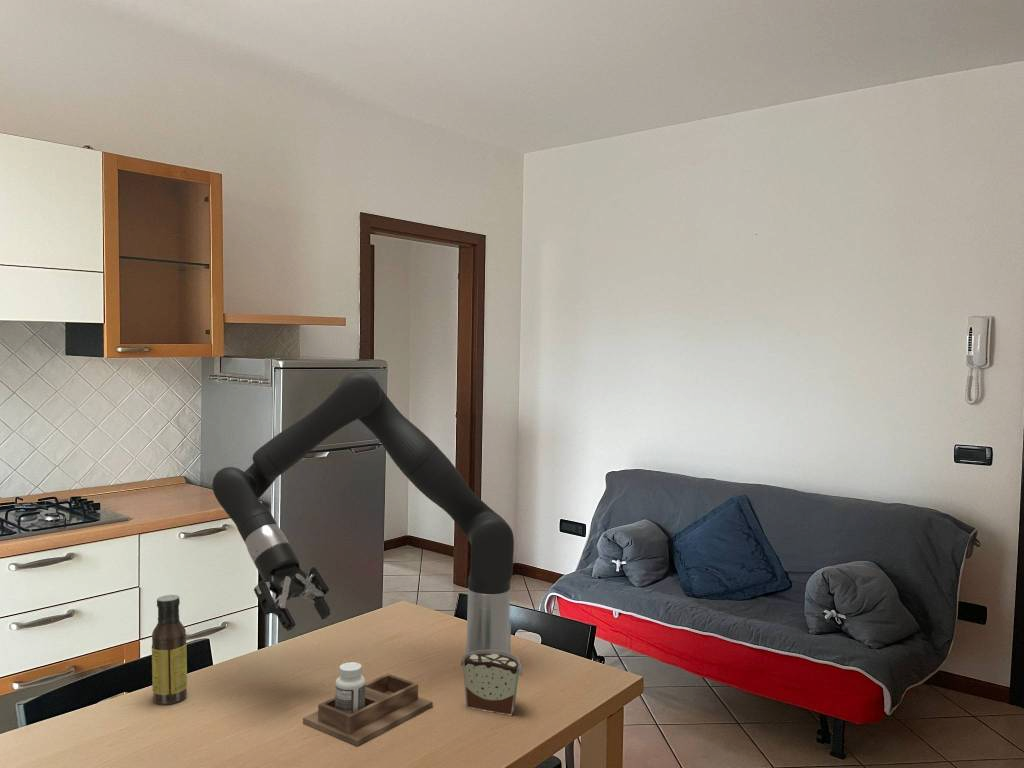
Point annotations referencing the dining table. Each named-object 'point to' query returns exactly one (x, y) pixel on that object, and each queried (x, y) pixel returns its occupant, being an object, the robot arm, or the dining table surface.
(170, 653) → the sauce bottle
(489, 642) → the robot arm
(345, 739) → the walnut organizer
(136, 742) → the dining table surface
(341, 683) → the pill bottle
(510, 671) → the food container
